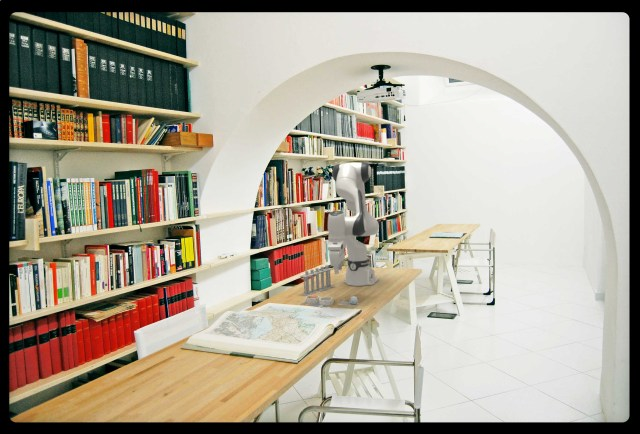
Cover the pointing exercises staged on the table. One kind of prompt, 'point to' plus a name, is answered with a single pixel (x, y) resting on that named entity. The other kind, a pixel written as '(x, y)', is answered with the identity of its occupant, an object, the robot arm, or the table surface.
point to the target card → (314, 304)
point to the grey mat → (348, 303)
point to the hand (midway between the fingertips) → (338, 271)
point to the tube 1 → (312, 300)
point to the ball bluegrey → (353, 300)
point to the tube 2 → (326, 301)
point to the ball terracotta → (313, 296)
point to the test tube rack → (317, 280)
